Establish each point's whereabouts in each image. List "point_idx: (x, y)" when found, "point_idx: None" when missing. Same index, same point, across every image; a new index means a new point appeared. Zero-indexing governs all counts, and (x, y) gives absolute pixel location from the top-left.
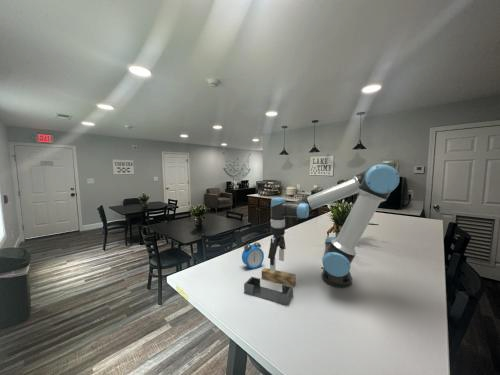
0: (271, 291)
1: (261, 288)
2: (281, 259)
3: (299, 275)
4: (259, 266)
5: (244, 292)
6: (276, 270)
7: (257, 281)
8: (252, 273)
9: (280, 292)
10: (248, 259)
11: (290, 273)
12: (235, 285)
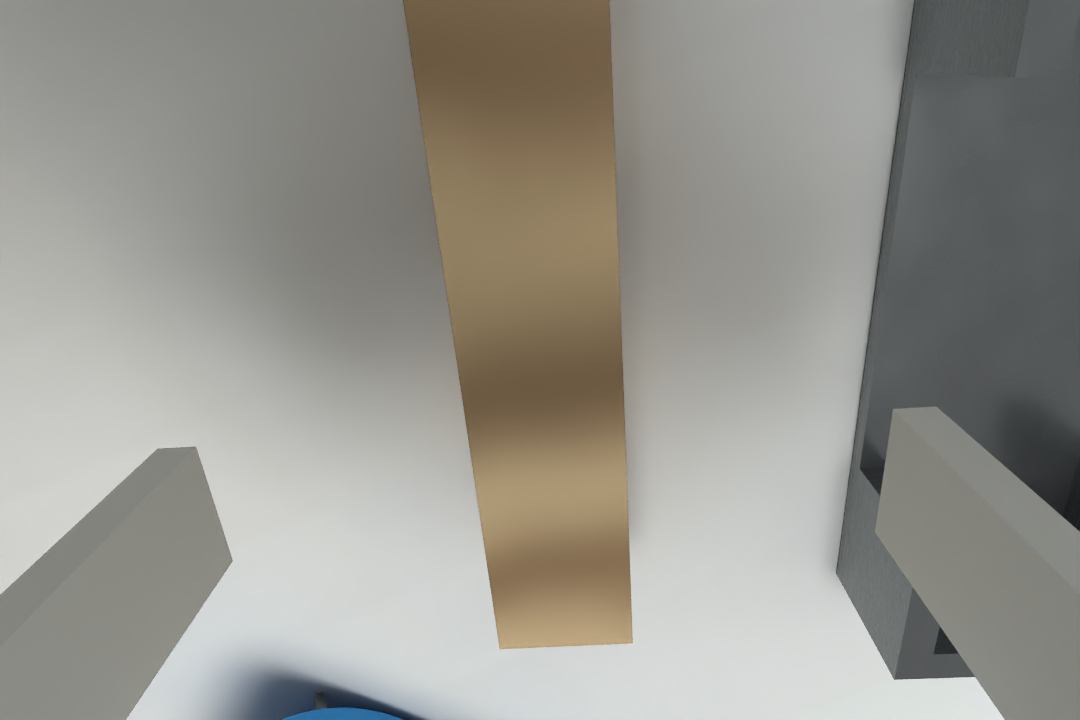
0: (949, 265)
1: None
2: (194, 520)
3: (102, 24)
4: (317, 699)
5: None
6: (473, 438)
7: None
8: (541, 686)
9: (935, 112)
10: None
11: (427, 109)
12: (917, 710)
